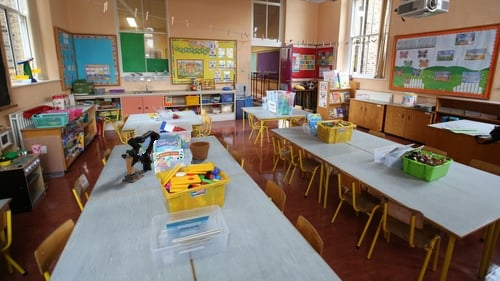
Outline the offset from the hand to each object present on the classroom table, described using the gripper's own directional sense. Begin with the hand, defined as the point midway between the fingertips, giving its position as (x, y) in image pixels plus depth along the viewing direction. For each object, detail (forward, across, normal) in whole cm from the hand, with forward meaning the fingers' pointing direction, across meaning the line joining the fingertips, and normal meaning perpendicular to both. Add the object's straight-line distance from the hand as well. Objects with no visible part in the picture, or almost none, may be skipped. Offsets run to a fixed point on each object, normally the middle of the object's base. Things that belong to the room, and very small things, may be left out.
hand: (129, 166), depth 235 cm
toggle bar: (+4, 0, +6) cm, 7 cm away
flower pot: (-38, +35, +56) cm, 76 cm away
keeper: (+7, 0, +11) cm, 13 cm away
